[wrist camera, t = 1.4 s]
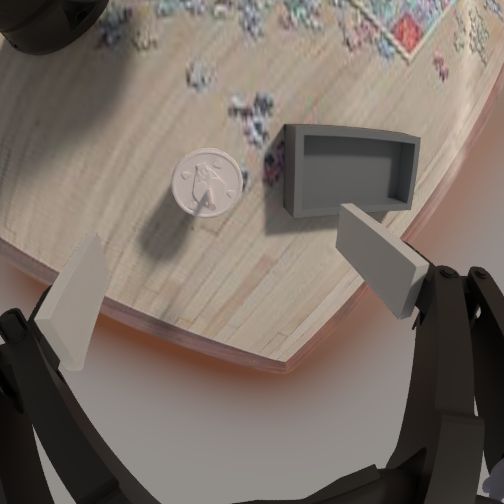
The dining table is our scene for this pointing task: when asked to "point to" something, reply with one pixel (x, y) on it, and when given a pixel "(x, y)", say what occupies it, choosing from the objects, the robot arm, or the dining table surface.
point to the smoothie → (207, 183)
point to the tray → (347, 169)
